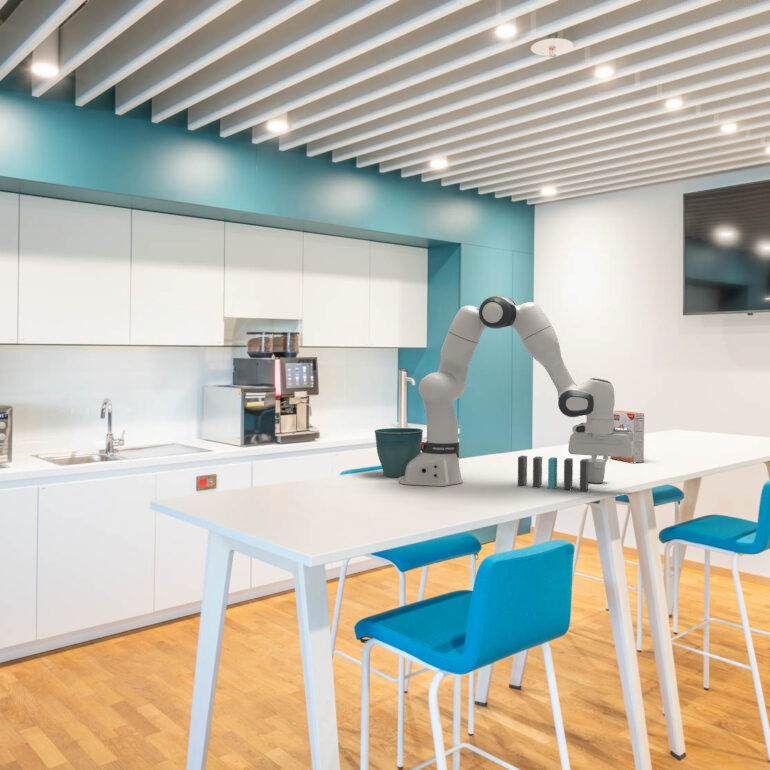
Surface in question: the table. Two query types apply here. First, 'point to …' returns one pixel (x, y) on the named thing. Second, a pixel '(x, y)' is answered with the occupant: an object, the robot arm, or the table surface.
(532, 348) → the robot arm
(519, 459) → the domino
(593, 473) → the cup
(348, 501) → the table surface
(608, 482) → the table surface
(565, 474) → the domino
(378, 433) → the flower pot
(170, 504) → the table surface
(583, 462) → the domino
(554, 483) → the domino teal
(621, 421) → the cracker box
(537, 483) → the domino
